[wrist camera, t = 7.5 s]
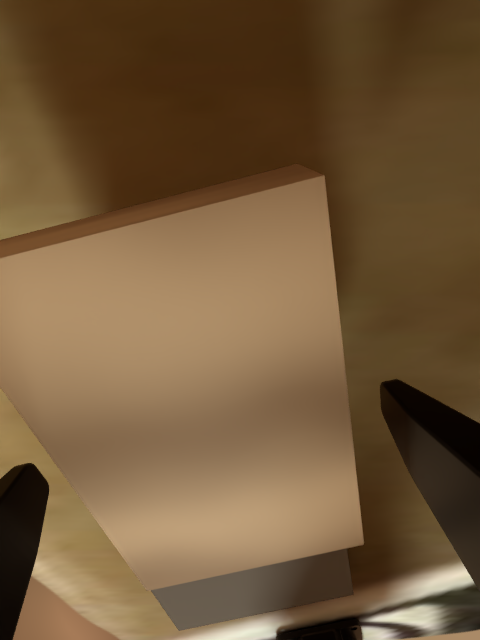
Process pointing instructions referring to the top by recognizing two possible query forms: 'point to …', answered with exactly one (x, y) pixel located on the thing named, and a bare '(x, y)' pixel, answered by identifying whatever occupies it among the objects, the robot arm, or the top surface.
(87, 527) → the top surface
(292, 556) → the birch board
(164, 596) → the rubber mat
